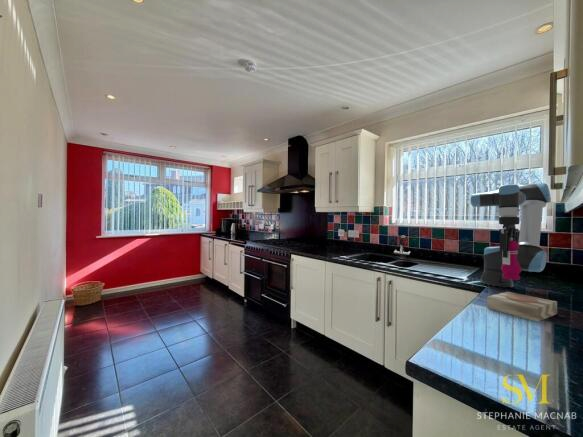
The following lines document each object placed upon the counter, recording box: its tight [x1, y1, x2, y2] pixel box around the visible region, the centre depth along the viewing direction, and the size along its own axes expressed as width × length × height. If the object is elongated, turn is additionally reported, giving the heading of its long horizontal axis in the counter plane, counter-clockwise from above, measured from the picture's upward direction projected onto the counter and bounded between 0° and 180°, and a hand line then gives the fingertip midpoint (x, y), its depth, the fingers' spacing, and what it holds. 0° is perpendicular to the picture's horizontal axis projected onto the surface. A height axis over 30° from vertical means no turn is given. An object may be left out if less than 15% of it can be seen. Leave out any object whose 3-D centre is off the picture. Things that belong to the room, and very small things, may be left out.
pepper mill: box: [501, 237, 522, 281], centre depth 117 cm, size 7×7×20 cm
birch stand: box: [486, 291, 558, 322], centre depth 101 cm, size 18×16×5 cm
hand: (509, 263), depth 118 cm, fingers closed on pepper mill, 6 cm apart
